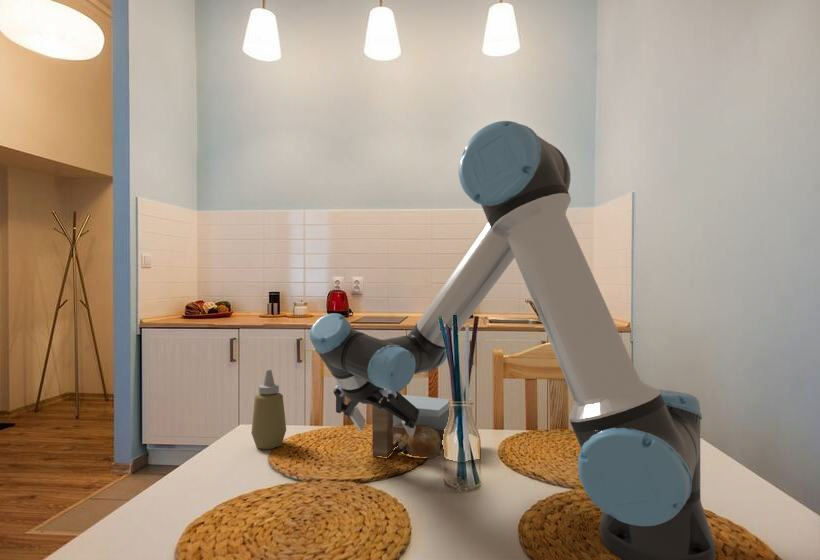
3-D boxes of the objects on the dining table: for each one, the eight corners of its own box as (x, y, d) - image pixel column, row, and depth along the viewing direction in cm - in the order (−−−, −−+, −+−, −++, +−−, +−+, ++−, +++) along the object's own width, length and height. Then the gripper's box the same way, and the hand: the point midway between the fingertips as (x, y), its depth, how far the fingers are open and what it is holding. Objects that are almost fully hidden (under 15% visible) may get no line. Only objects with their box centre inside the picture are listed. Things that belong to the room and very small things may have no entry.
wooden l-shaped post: (433, 465, 102) (432, 409, 102) (370, 456, 108) (370, 402, 108) (452, 444, 115) (452, 394, 115) (395, 437, 121) (395, 389, 121)
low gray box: (438, 457, 107) (438, 410, 107) (373, 448, 113) (373, 403, 113) (452, 442, 116) (452, 399, 116) (391, 435, 122) (391, 393, 122)
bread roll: (435, 476, 106) (450, 443, 106) (392, 456, 106) (408, 423, 106) (432, 459, 116) (447, 429, 116) (394, 441, 116) (408, 411, 116)
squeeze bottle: (243, 449, 112) (243, 372, 112) (264, 438, 120) (264, 366, 120) (274, 453, 110) (274, 374, 110) (292, 441, 117) (292, 368, 117)
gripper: (416, 363, 94) (441, 419, 108) (310, 356, 103) (346, 409, 117) (406, 397, 89) (433, 451, 103) (296, 386, 98) (335, 437, 113)
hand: (387, 429), depth 110 cm, fingers open, 12 cm apart
